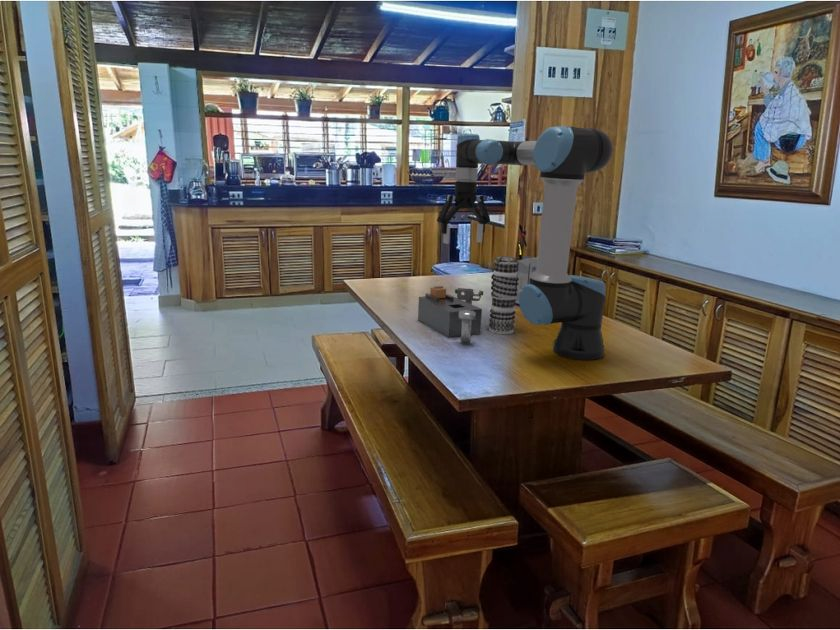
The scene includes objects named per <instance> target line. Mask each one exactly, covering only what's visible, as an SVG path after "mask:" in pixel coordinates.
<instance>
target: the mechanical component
mask: <svg viewBox="0 0 840 630" xmlns="http://www.w3.org/2000/svg"><path fill="white" fill-rule="evenodd" d="M454 293H455V294H456V298H458V299H460V300H462V301H465V302H467V303H469V304H472V305H473V302H479V301H480V299H481V298H482V296H484V291H483V290H481V289H480V290H478V292H477V293H475V291H474V289H473V288H464V287H463V288H462V287H457V288H455V289H454ZM462 293H464V294H462ZM474 297H478V298H474Z"/></svg>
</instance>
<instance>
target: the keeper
mask: <svg viewBox="0 0 840 630" xmlns="http://www.w3.org/2000/svg"><path fill="white" fill-rule="evenodd" d="M429 292H430V293H429V294H430V295H433V296H435V297H437V298H446V294H447V289H446V288H444V286H443V285H439V286H432V287H430V291H429Z"/></svg>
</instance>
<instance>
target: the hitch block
mask: <svg viewBox="0 0 840 630" xmlns="http://www.w3.org/2000/svg"><path fill="white" fill-rule="evenodd" d="M417 309H418V310H417V321H419V322H421V323H422V324H424V325H426V326H427V327H429V328H431V329H433V330H434V331H437V332H438V333H440V334H442V335H443V336H445V337H447V338H448V339H450V338H457V337H461V327H462V319H459V318H458V317H459V311H462V310H470V311H474V312H476V316H475V319H474V320H472V322H471V336H474V335H481V328H482V327H481V325H482V313H483V312H482V311H483V309H482V308H480V307H478V306H476V305H474V304H473V303H472V304H469V303H467V302H465V300H460V299H458V298H457V296H456V297H455V296H453V295H451V294H447V293H446V298H437V297H435V296H433V295H430V293H425V296H418V308H417Z"/></svg>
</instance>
